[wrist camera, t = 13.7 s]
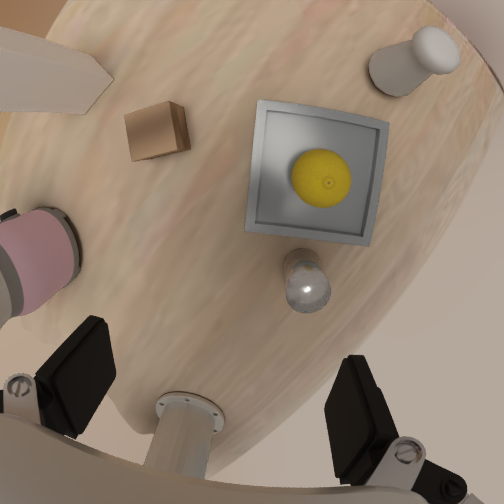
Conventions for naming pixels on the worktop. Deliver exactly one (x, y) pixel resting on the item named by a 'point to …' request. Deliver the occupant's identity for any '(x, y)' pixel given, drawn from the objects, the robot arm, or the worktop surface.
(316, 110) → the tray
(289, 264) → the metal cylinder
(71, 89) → the milk
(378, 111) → the worktop surface
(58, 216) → the blender
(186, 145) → the walnut block
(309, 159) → the lemon
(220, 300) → the worktop surface
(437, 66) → the salt shaker
